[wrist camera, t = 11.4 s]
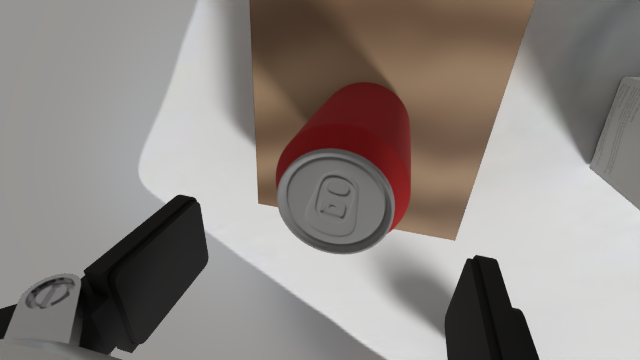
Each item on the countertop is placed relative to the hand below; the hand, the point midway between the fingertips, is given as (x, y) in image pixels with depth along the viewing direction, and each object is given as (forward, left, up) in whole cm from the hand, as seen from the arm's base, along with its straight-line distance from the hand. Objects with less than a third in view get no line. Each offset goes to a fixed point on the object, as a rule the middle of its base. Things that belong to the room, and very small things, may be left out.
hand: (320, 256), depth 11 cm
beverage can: (0, 0, -16) cm, 16 cm away
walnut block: (0, 0, -23) cm, 23 cm away
